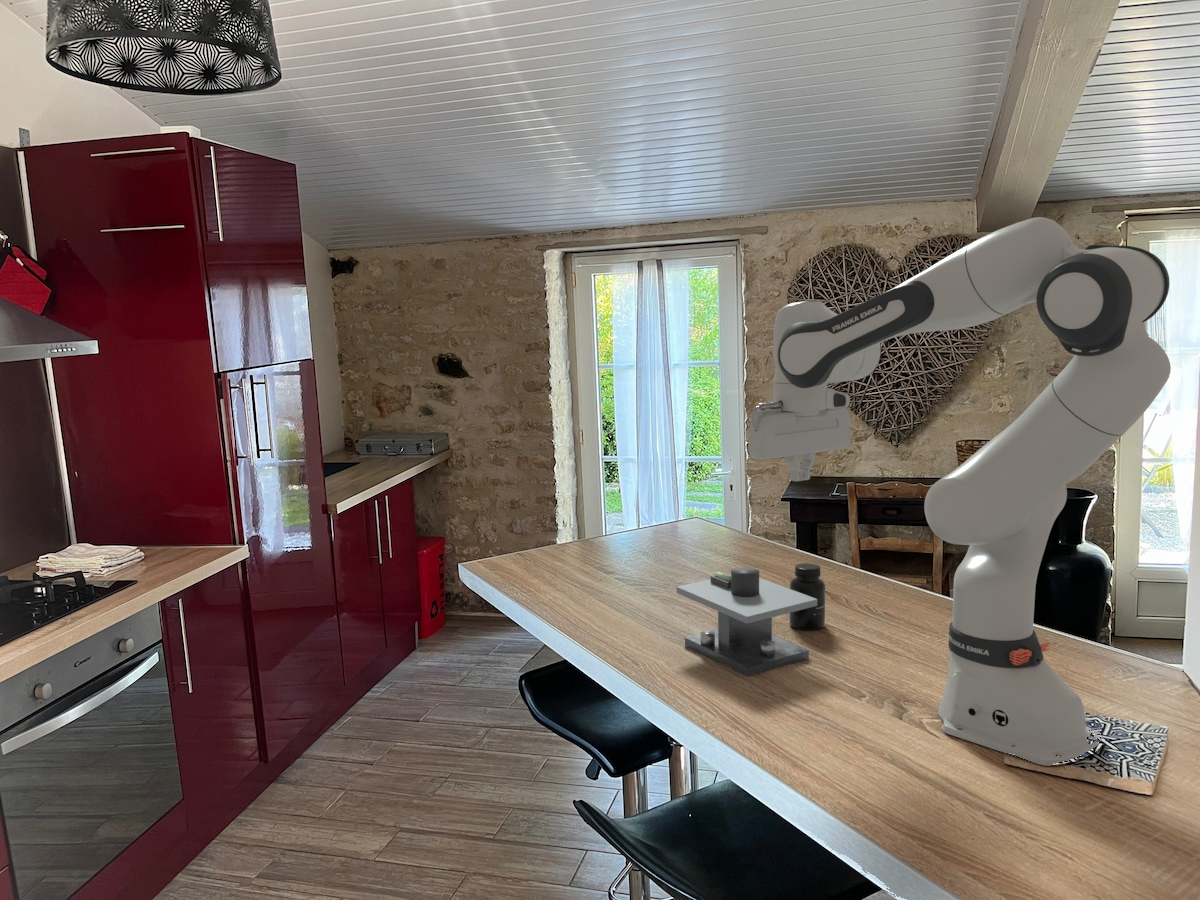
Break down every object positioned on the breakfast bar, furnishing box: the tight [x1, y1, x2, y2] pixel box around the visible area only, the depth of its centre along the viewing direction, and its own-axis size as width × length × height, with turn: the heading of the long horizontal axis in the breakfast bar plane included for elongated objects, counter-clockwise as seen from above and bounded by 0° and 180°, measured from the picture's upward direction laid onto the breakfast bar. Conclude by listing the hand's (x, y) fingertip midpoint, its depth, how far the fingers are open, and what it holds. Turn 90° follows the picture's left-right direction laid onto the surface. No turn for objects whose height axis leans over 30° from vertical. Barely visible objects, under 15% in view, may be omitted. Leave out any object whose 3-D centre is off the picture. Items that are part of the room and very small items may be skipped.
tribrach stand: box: [684, 611, 810, 677], centre depth 169 cm, size 18×14×9 cm
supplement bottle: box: [788, 563, 826, 631], centre depth 182 cm, size 7×7×12 cm
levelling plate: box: [676, 566, 817, 624], centre depth 168 cm, size 20×16×6 cm
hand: (800, 480), depth 158 cm, fingers closed
